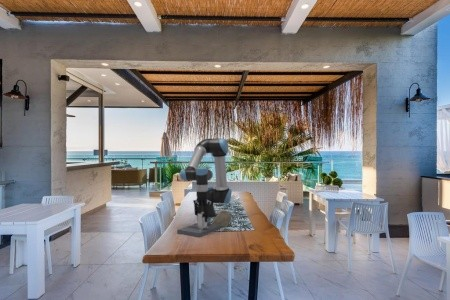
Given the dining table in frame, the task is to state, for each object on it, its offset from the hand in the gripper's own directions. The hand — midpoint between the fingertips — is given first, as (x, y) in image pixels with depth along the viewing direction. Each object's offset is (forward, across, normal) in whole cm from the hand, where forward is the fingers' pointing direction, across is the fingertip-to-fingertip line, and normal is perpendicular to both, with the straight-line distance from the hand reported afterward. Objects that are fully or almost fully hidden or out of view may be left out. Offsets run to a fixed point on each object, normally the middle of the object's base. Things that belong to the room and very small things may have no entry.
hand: (202, 226), depth 217 cm
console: (+4, -4, +2) cm, 6 cm away
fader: (+1, 0, 0) cm, 1 cm away
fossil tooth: (+4, +1, +22) cm, 22 cm away
